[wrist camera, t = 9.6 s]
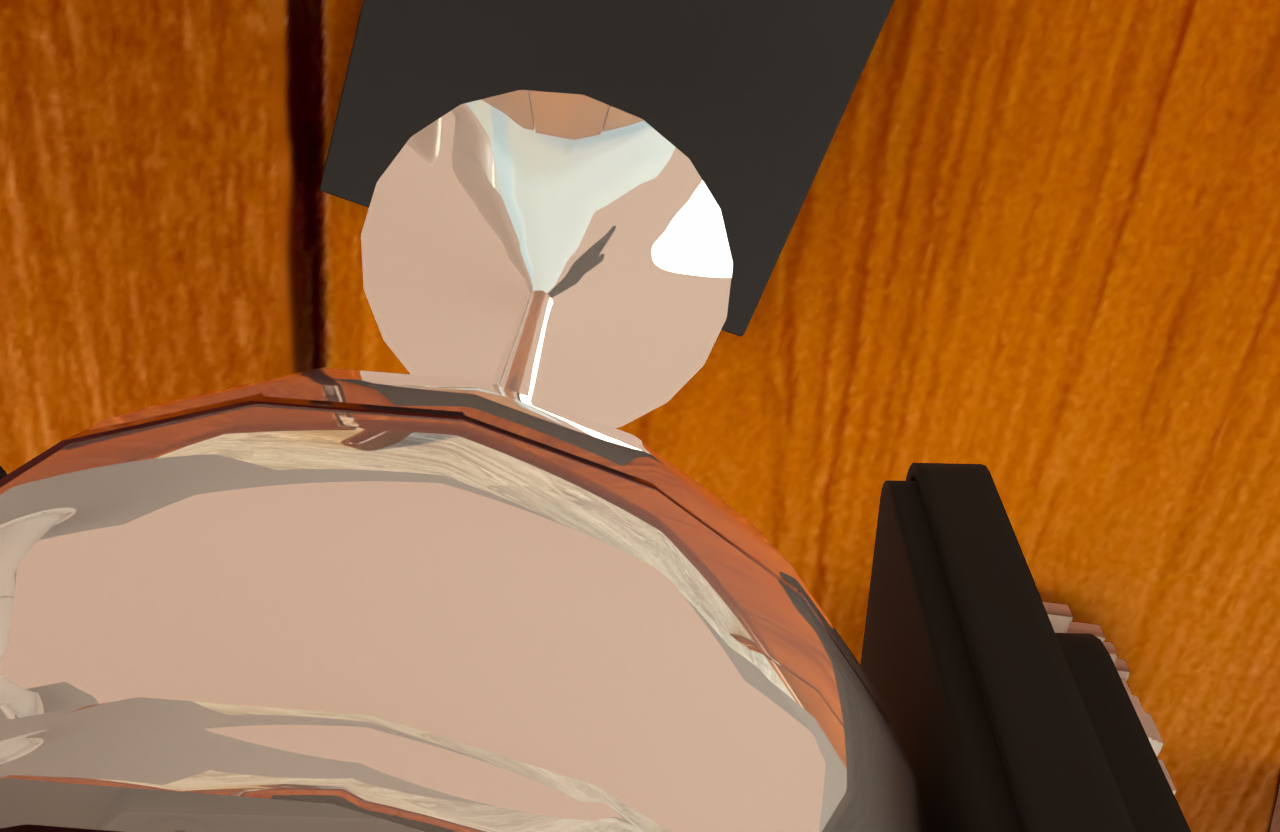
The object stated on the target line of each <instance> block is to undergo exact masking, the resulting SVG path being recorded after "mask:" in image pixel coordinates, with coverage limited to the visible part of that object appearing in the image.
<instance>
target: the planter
mask: <svg viewBox="0 0 1280 832" xmlns="http://www.w3.org/2000/svg"><path fill="white" fill-rule="evenodd" d="M1270 832H1280V784H1279V790H1278V796H1277V801H1276V805H1275V810H1274V814H1273V819H1272V823H1271V827H1270Z"/></svg>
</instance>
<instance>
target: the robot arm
mask: <svg viewBox="0 0 1280 832" xmlns="http://www.w3.org/2000/svg"><path fill="white" fill-rule="evenodd" d="M5 476H7V474H6V472H5V471H4V470H3V468H2V467H1V466H0V479H2V478H3V477H5ZM861 667H862V669H863V670H864V672H865V673H866V675H867V676H868V678H869V679H870V680H871V682H872V683H873V685H874V688H875V690H876V692H877V695H878V697H879V699H880V702H881V704H882V706H883V708H884V711H885V713H886V715H887V717H888V719H889V720H890V723H891V727H892V729H893V732H894V734H895V736H896V739H897V741H898V743H899V746H900V748H901V750H902V753H903V755H904V757H905V759H906V762H907V764H908V766H909V769H910V771H911V773H912V776H913V778H914V780H915V785H916V790H917V796H918V801H919V806H920V811H921V816H922V822H923V827H924V832H1191V831H1190V829H1189V826H1188V824H1187V822H1186V820H1185V818H1184V816H1183V813H1182V811H1181V809H1180V807H1179V805H1178V802H1177V800H1176V798H1175V796H1174V794H1173V791H1172V789H1171V787H1170V785H1169V783H1168V781H1167V778H1166V776H1165V774H1164V772H1163V770H1162V767H1161V765H1160V763H1159V761H1158V759H1157V756H1156V754H1155V752H1154V750H1153V748H1152V746H1151V743H1150V741H1149V739H1148V737H1147V735H1146V732H1145V730H1144V728H1143V726H1142V724H1141V721H1140V719H1139V717H1138V715H1137V713H1136V711H1135V708H1134V706H1133V704H1132V702H1131V700H1130V697H1129V695H1128V693H1127V691H1126V689H1125V687H1124V684H1123V682H1122V680H1121V678H1120V676H1119V673H1118V671H1117V669H1116V667H1115V665H1114V662H1113V660H1112V658H1111V656H1110V654H1109V652H1108V651H1107V649H1106V647H1105V646H1104V644H1103V643H1102V641H1101V640H1100V639H1099V638H1097V637H1096V636H1094V635H1093V634H1088V633H1055V632H1054V629H1053V627H1052V624H1051V622H1050V619H1049V617H1048V614H1047V612H1046V609H1045V607H1044V605H1043V602H1042V600H1041V597H1040V595H1039V592H1038V590H1037V587H1036V585H1035V582H1034V580H1033V577H1032V575H1031V573H1030V570H1029V568H1028V565H1027V563H1026V560H1025V558H1024V555H1023V553H1022V550H1021V548H1020V545H1019V543H1018V541H1017V538H1016V536H1015V533H1014V531H1013V528H1012V526H1011V523H1010V521H1009V518H1008V516H1007V514H1006V511H1005V509H1004V506H1003V504H1002V501H1001V499H1000V496H999V494H998V491H997V489H996V486H995V484H994V482H993V479H992V477H991V474H990V472H989V470H988V469H987V467H986V466H985V465H982V464H939V463H913V464H912V465H911V466H910V468H909V471H908V474H907V478H906V481H885V482H884V484H883V488H882V492H881V498H880V506H879V515H878V523H877V532H876V540H875V549H874V557H873V566H872V574H871V582H870V591H869V599H868V608H867V616H866V625H865V633H864V642H863V650H862V659H861Z"/></svg>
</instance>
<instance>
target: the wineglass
mask: <svg viewBox="0 0 1280 832" xmlns="http://www.w3.org/2000/svg"><path fill="white" fill-rule="evenodd" d="M361 246H362V266H363V285H364V291H365V294H366V297H367V299H368V302H369V304H370V307H371V309H372V312H373V314H374V317H375V319H376V322H377V325H378V327H379V330H380V332H381V335H382V337H383V340H384V341H385V342H386V344H387V345H388V346H389V348H390V349H391V350H392V351H393V353H394V354H395V355H396V356H397V358H398V359H399V360H400V361H401V363H402V364H403V365H404V366H405V368H406V369H407V370H408V371H409V373H410V374H411V375H410V374H397V373H385V372H372V371H359V370H346V369H334V368H319V369H315V370H310V371H306V372H301V373H296V374H292V375H287V376H282V377H278V378H273V379H268V380H264V381H259V382H254V383H250V384H245V385H241V386H236V387H231V388H227V389H222V390H217V391H213V392H208V393H203V394H199V395H194V396H189V397H185V398H180V399H176V400H172V401H169V402H165V403H161V404H158V405H154V406H151V407H147V408H143V409H140V410H136V411H133V412H129V413H125V414H122V415H118V416H115V417H111V418H107V419H104V420H102V421H100V422H99V423H97V424H95V425H94V426H92V427H91V428H89V429H87V430H85V431H83V432H81V433H78V434H76V435H74V436H72V437H69V438H67V439H65V440H63V441H61V442H59V443H58V444H56V445H55V446H53V447H51V448H50V449H48V450H47V451H45V452H43V453H42V454H40V455H39V456H37V457H35V458H34V459H32V460H31V461H29V462H27V463H26V464H24V465H23V466H21V467H19V468H18V469H16V470H15V471H13V472H11V473H10V474H8V475H7V476H5V477H3V478H2V479H0V832H924V827H923V822H922V816H921V811H920V806H919V801H918V796H917V790H916V785H915V780H914V778H913V776H912V773H911V771H910V769H909V766H908V764H907V762H906V759H905V757H904V755H903V753H902V750H901V748H900V746H899V743H898V741H897V739H896V736H895V734H894V732H893V729H892V727H891V723H890V720H889V719H888V717H887V715H886V713H885V711H884V708H883V706H882V704H881V702H880V699H879V697H878V695H877V692H876V690H875V688H874V685H873V683H872V682H871V680H870V679H869V678H868V676H867V675H866V673H865V672H864V670H863V669H862V667H861V666H860V664H859V663H858V662H857V660H856V659H855V657H854V656H853V654H852V653H851V651H850V650H849V648H848V647H847V646H846V644H845V643H844V641H843V640H842V638H841V637H840V635H839V634H838V632H837V631H836V630H835V628H834V627H833V625H832V624H831V622H830V621H829V619H828V618H827V617H826V615H825V614H824V612H823V611H822V609H821V608H820V606H819V605H818V603H817V602H816V601H815V599H814V598H813V596H812V595H811V593H810V592H809V590H808V589H807V587H806V586H805V585H804V583H803V582H802V580H801V579H800V577H799V576H798V574H797V573H796V571H795V570H794V569H793V567H792V566H791V564H790V563H789V562H788V561H787V560H786V559H785V558H784V557H783V556H782V555H781V554H780V553H779V552H778V551H777V549H776V548H775V547H774V546H773V545H772V544H771V543H770V542H769V541H768V540H767V539H766V538H765V537H764V536H763V535H762V534H761V532H760V531H759V530H758V529H757V528H756V527H755V526H754V525H753V524H752V523H751V522H750V521H749V520H748V519H746V518H745V517H743V516H742V515H741V514H739V513H738V512H737V511H735V510H734V509H733V508H731V507H730V506H729V505H727V504H726V503H725V502H723V501H722V500H721V499H719V498H718V497H716V496H715V495H714V494H712V493H711V492H710V491H708V490H707V489H706V488H704V487H703V486H702V485H700V484H699V483H698V482H696V481H695V480H693V479H692V478H691V477H689V476H688V475H687V474H685V473H684V472H683V471H681V470H680V469H679V468H677V467H676V466H675V465H673V464H672V463H670V462H669V461H668V460H666V459H665V458H664V457H662V456H661V455H660V454H658V453H657V452H656V451H654V450H653V449H652V448H650V447H649V446H648V445H646V444H645V443H643V442H642V441H641V440H639V439H638V438H637V437H635V436H634V435H632V434H629V433H626V432H624V431H621V430H618V429H616V428H618V427H622V426H624V425H625V424H627V423H629V422H631V421H633V420H635V419H637V418H639V417H641V416H642V415H644V414H646V413H648V412H650V411H652V410H654V409H656V408H658V407H660V406H661V405H663V404H665V403H667V402H668V401H669V400H670V399H671V398H672V397H673V396H674V395H675V394H676V393H677V392H678V391H679V390H680V389H681V388H682V387H683V386H684V385H685V384H686V383H687V382H688V381H689V380H690V379H691V378H692V377H693V376H694V375H695V374H696V373H697V372H698V371H699V370H700V369H701V368H702V367H703V366H704V364H705V362H706V360H707V358H708V356H709V354H710V352H711V349H712V347H713V345H714V343H715V341H716V339H717V337H718V335H719V333H720V331H721V329H722V327H723V325H724V323H725V321H726V319H727V312H728V303H729V294H730V286H731V277H732V268H733V262H732V258H731V253H730V249H729V245H728V240H727V236H726V231H725V227H724V223H723V218H722V214H721V209H720V208H719V206H718V204H717V203H716V201H715V200H714V198H713V196H712V195H711V193H710V191H709V190H708V188H707V187H706V185H705V183H704V182H703V180H702V178H701V177H700V175H699V174H698V172H697V170H696V169H695V167H694V165H693V164H692V162H691V161H690V159H689V158H688V157H687V156H686V155H684V154H683V153H682V152H681V151H680V150H678V149H677V148H676V147H675V146H674V145H673V144H671V143H670V142H669V141H668V140H667V139H665V138H664V137H663V136H662V135H661V134H659V133H658V132H657V131H656V130H655V129H654V128H652V127H651V126H650V125H649V124H648V123H646V122H645V121H644V120H643V119H641V118H639V117H636V116H634V115H632V114H629V113H627V112H624V111H622V110H619V109H617V108H615V107H612V106H610V105H607V104H605V103H602V102H600V101H598V100H595V99H593V98H590V97H588V96H585V95H581V94H568V93H555V92H543V91H530V90H517V91H513V92H509V93H505V94H501V95H497V96H493V97H489V98H485V99H481V100H477V101H473V102H469V103H465V104H461V105H459V106H457V107H456V108H454V109H453V110H451V111H450V112H448V113H447V114H445V115H444V116H442V117H441V118H439V119H438V120H436V121H434V122H433V123H431V124H430V125H428V126H427V127H425V128H424V129H422V130H421V131H419V132H418V133H416V134H414V135H413V136H411V137H410V139H409V140H408V141H407V143H406V144H405V145H404V147H403V148H402V149H401V151H400V152H399V153H398V155H397V156H396V157H395V159H394V160H393V161H392V163H391V164H390V165H389V167H388V168H387V169H386V171H385V172H384V173H383V175H382V176H381V177H380V179H379V180H378V181H377V183H376V186H375V190H374V193H373V196H372V200H371V203H370V206H369V210H368V213H367V216H366V220H365V223H364V226H363V230H362V233H361Z"/></svg>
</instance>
